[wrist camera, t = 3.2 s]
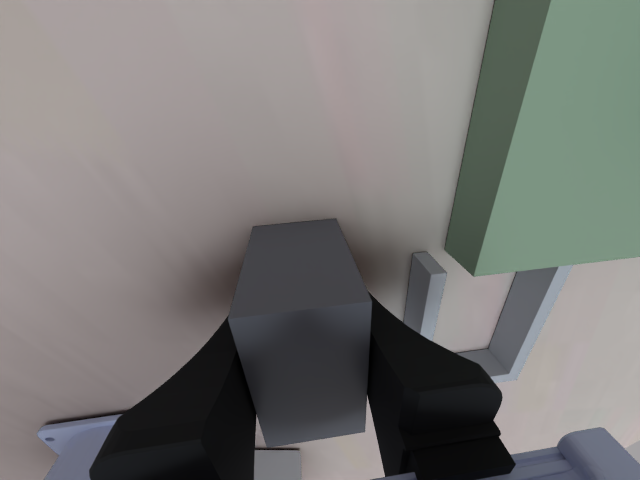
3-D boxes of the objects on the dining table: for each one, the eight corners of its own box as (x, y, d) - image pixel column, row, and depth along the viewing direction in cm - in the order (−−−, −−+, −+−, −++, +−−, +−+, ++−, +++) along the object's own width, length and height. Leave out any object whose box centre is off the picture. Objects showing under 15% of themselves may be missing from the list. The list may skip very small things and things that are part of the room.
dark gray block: (338, 322, 16) (364, 431, 11) (273, 331, 16) (266, 447, 10) (335, 218, 13) (372, 301, 7) (253, 226, 12) (227, 319, 7)
